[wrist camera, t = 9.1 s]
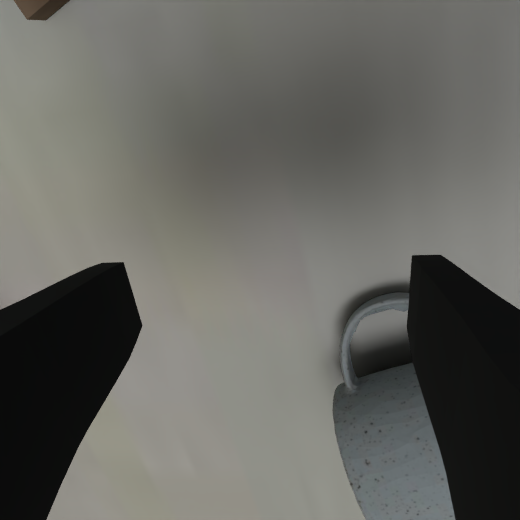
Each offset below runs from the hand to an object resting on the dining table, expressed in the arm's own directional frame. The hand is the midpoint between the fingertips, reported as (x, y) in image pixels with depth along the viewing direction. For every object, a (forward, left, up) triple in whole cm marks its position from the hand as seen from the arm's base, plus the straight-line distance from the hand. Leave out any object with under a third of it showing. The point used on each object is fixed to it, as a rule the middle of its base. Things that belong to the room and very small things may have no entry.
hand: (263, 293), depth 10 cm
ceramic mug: (-1, +12, -10) cm, 16 cm away
